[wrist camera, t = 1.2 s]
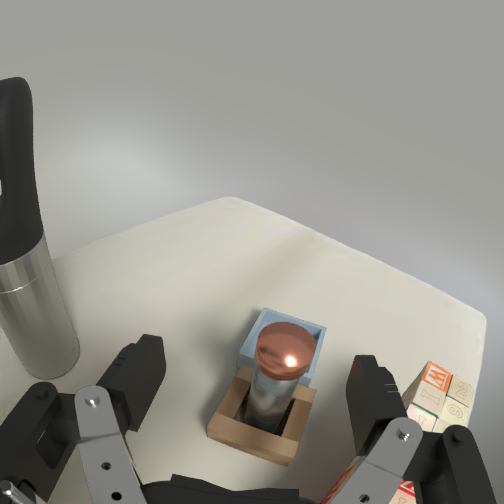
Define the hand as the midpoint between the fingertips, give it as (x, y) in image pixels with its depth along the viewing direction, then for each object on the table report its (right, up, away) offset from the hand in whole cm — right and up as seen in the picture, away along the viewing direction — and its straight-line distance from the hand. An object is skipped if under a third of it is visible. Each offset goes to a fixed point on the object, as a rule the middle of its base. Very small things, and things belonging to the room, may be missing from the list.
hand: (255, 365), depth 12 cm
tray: (+4, -9, +27) cm, 29 cm away
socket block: (+1, -14, +18) cm, 23 cm away
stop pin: (+1, -14, +18) cm, 23 cm away
